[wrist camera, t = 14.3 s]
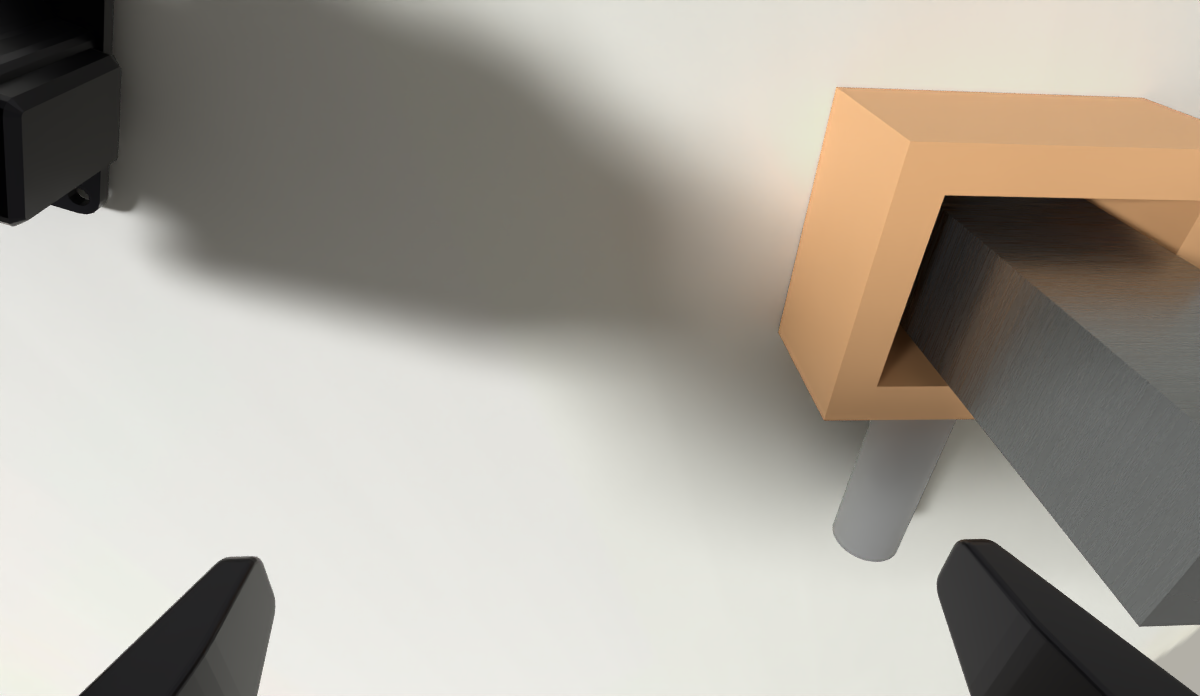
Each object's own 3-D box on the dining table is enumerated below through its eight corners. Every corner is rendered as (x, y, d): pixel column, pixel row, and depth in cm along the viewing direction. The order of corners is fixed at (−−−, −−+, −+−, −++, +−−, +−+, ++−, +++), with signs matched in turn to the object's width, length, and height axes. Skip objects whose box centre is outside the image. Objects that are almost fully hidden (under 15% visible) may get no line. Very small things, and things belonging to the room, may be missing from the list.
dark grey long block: (858, 272, 22) (1139, 626, 12) (891, 166, 20) (1264, 479, 10) (992, 275, 22) (1376, 618, 12) (1037, 170, 20) (1542, 476, 10)
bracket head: (738, 498, 27) (781, 635, 23) (841, 65, 18) (953, 138, 13) (1142, 490, 29) (1264, 617, 24) (1428, 87, 20) (1724, 160, 15)
